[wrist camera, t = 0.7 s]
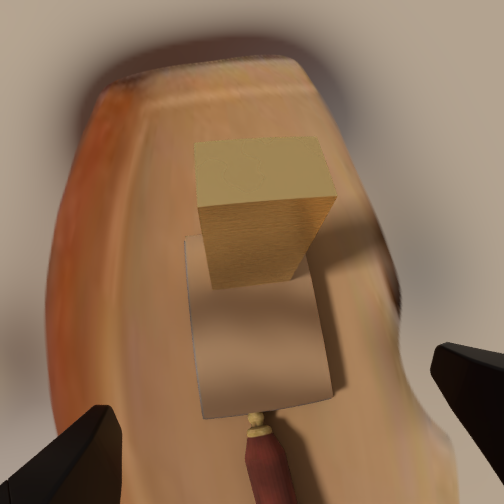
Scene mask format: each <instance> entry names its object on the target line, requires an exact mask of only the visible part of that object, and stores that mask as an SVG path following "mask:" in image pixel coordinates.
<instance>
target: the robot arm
mask: <svg viewBox="0 0 504 504" xmlns="http://www.w3.org/2000/svg"><path fill="white" fill-rule="evenodd" d="M430 373H431V376H432V377H433V379H434V381H435V382H436V384H437V385H438V387H439V389H440V391H441V392H442V394H443V396H444V397H445V399H446V401H447V402H448V404H449V406H450V408H451V409H452V411H453V412H454V414H455V415H456V416H457V418H458V419H459V421H460V422H461V423H462V425H463V426H464V428H465V429H466V430H467V431H468V433H469V434H470V436H471V437H472V439H473V440H474V442H475V443H476V445H477V446H478V447H479V449H480V450H481V452H482V453H483V455H484V456H485V458H486V459H487V461H488V462H489V463H490V465H491V467H492V468H493V470H494V471H495V473H496V474H497V476H498V477H499V479H500V480H501V482H502V483H503V485H504V354H502V353H497V352H492V351H487V350H482V349H477V348H473V347H468V346H463V345H459V344H454V343H450V342H446V343H443V344H441V345H438V346H437V347H436V349H435V351H434V356H433V360H432V363H431V368H430ZM121 487H122V430H121V427H120V425H119V423H118V420H117V418H116V416H115V413H114V411H113V409H112V407H111V406H109V405H94V406H93V407H92V408H91V409H89V410H88V411H87V412H86V413H85V414H84V415H82V416H81V417H80V418H79V419H78V420H77V421H75V422H74V423H73V424H72V425H71V426H70V427H68V428H67V429H66V430H65V431H64V432H63V433H61V434H60V435H59V436H58V437H57V438H56V439H54V440H53V441H52V442H51V443H50V444H49V445H47V446H46V447H45V448H44V449H43V450H42V451H40V452H39V453H38V454H37V455H36V456H34V457H33V458H32V459H31V460H30V461H28V462H27V463H26V464H25V465H24V466H23V467H21V468H20V469H19V470H18V471H17V472H15V473H14V474H13V475H12V476H11V477H10V478H8V480H6V481H4V482H3V483H2V484H1V485H0V504H120V498H121Z"/></svg>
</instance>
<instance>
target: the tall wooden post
mask: <svg viewBox="0 0 504 504" xmlns="http://www.w3.org/2000/svg"><path fill="white" fill-rule="evenodd" d="M194 156H195V175H196V192H197V207H198V213H199V219H200V225H201V231H202V237H203V242H204V248H205V253H206V259H207V264H208V270H209V275H210V280H211V285H212V290H220V289H228V288H237V287H246V286H254V285H262V284H270V283H278V282H286V281H290V279H291V277H292V276H293V274H294V272H295V271H296V269H297V267H298V265H299V264H300V262H301V260H302V259H303V257H304V255H305V253H306V252H307V250H308V248H309V246H310V245H311V243H312V241H313V239H314V238H315V236H316V234H317V232H318V231H319V229H320V227H321V225H322V223H323V222H324V220H325V218H326V216H327V214H328V213H329V211H330V209H331V207H332V205H333V203H334V202H335V200H336V198H337V193H336V190H335V187H334V184H333V181H332V178H331V175H330V172H329V169H328V166H327V163H326V161H325V158H324V155H323V152H322V150H321V147H320V144H319V142H318V139H317V137H270V138H250V139H234V140H221V141H210V142H199V143H194Z"/></svg>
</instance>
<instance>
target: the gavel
mask: <svg viewBox="0 0 504 504" xmlns="http://www.w3.org/2000/svg"><path fill="white" fill-rule="evenodd" d="M248 420H249V422H250V423H251V426H252V427H251V428H250V429H248V431H247V437H248V438H247V446H246V454H245V462H246V466H247V470H248V474H249V478H250V482H251V486H252V490H253V493H254V497H255V501H256V504H298V503H297V499H296V495H295V491H294V487H293V483H292V479H291V475H290V471H289V467H288V462H287V458H286V454H285V451H284V449H283V448H282V446H281V445H280V443H279V442H278V440H277V439H276V437H275V436H274V434H273V433H272V429H271V427H270V426H268V425H264V423H263V421H264V415H263V413H262V412H256V413H249V414H248Z"/></svg>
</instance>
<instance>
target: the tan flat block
mask: <svg viewBox="0 0 504 504" xmlns="http://www.w3.org/2000/svg"><path fill="white" fill-rule="evenodd" d="M184 246H185V262H186V276H187V288H188V300H189V311H190V321H191V331H192V340H193V349H194V357H195V365H196V373H197V381H198V388H199V395H200V402H201V409H202V415H203V419H214V418H223V417H232V416H240V415H248V414H249V413H256V412H268V411H274V410H279V409H285V408H290V407H295V406H300V405H305V404H310V403H314V402H319V401H323V400H327V399H331V398H332V397H333V392H332V385H331V379H330V373H329V368H328V362H327V356H326V351H325V345H324V340H323V335H322V329H321V324H320V319H319V314H318V309H317V304H316V299H315V294H314V289H313V285H312V280H311V275H310V271H309V266H308V262H307V257H306V253H305V255H304V257H303V259H302V260H301V262H300V264H299V265H298V267H297V269H296V271H295V272H294V274H293V276H292V277H291V279H290V281H286V282H278V283H270V284H262V285H254V286H246V287H237V288H228V289H220V290H212V285H211V280H210V275H209V270H208V264H207V259H206V253H205V248H204V242H203V237H202V235H193V236H185V241H184Z"/></svg>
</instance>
